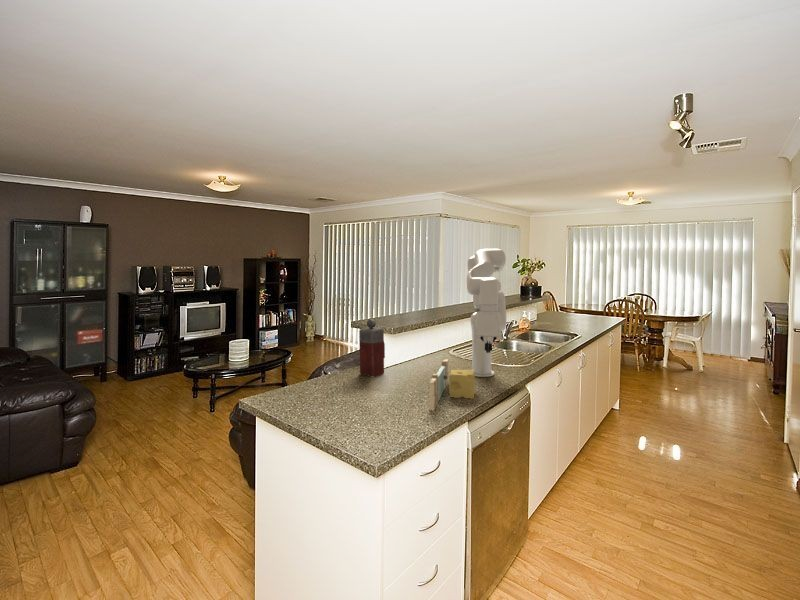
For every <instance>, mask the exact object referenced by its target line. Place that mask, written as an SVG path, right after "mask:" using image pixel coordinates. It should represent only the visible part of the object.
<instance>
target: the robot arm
mask: <svg viewBox="0 0 800 600" xmlns="http://www.w3.org/2000/svg"><path fill="white" fill-rule="evenodd" d="M505 265H506V254H505V252H504V250H503V249H500V248H482V249H479V250H477V251H476V252H475V253H474V255H473V256H471V257H469V258H468V259H467V270H468V273H467V275H466V289H467V293H468V294H469V295H470V296H472V303H473V307H474V308H475V309H476V310H479V311H475V312H473V313H472V314H471V315H470V318H469V319H470V327H471V339H472V340H471V345H472V346H471V363H472V364H471V370H474V373H475V377H478V378H479V377H480V378H488V377H489V378H490V377H492V376H494V375H495V371H494V370H492V352H493V343H495V341H496V340H501V339H502V336H503V335H502V331H505V329H506V327H507V307H506V306H507V303H506V296H505V294H504V292H503V291H501V287H502V285H501V283H502V282H501V281H500V280H499V279H498V278H497V277H492V275H493V274H494V273H500V272H502V270H503V268H504V267H505Z"/></svg>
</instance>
